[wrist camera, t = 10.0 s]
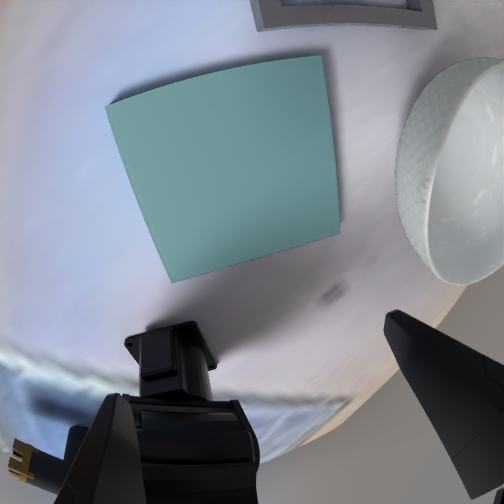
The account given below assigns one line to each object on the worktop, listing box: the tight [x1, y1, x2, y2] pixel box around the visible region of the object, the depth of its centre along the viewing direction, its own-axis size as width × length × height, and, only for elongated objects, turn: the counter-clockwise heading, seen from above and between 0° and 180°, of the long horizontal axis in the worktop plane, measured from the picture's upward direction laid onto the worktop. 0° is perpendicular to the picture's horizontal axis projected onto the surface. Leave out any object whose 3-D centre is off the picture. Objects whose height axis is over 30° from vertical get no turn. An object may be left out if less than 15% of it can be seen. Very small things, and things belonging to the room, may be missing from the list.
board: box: [105, 55, 340, 283], centre depth 18 cm, size 12×12×1 cm
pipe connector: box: [8, 427, 89, 495], centre depth 23 cm, size 12×5×15 cm, turn 53°
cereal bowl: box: [395, 57, 504, 286], centre depth 18 cm, size 17×17×7 cm
